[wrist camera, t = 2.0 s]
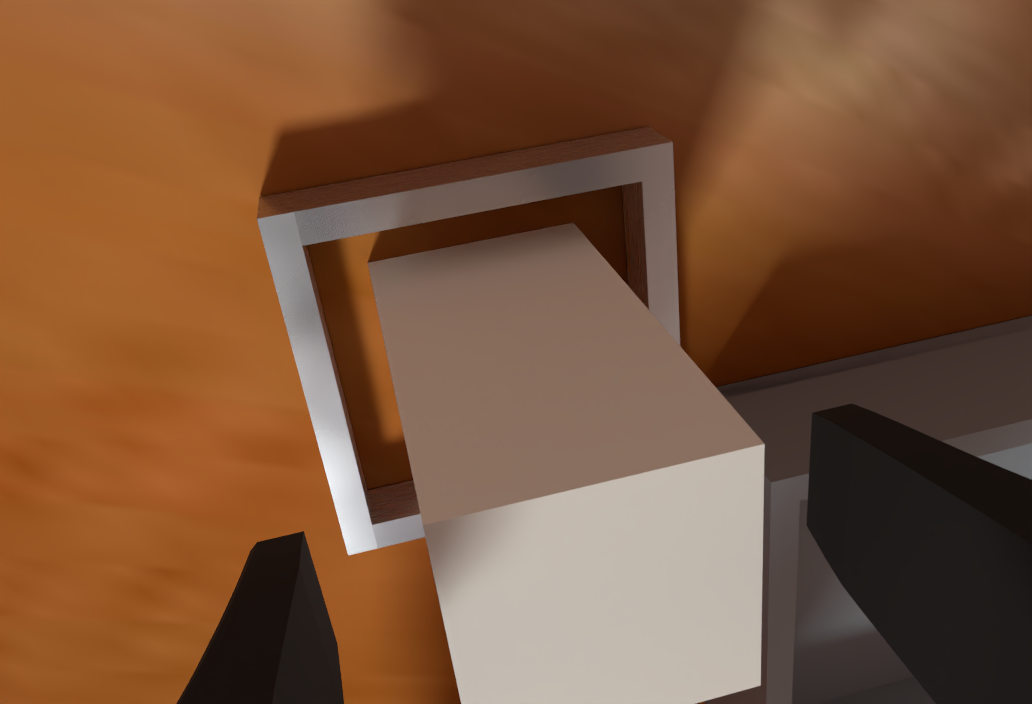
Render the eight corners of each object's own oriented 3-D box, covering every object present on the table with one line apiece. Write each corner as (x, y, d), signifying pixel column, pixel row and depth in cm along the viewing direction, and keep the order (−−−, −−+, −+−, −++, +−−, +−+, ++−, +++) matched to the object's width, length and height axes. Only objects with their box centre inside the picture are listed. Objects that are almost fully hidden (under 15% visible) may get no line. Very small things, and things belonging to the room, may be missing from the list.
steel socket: (664, 444, 20) (684, 474, 19) (344, 519, 19) (348, 555, 18) (648, 126, 17) (672, 141, 16) (259, 197, 16) (256, 219, 15)
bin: (1061, 633, 27) (1160, 728, 23) (705, 733, 25) (763, 850, 22) (1141, 290, 21) (1284, 356, 18) (696, 391, 20) (770, 482, 17)
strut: (589, 398, 19) (760, 684, 12) (405, 439, 19) (474, 764, 12) (573, 222, 17) (764, 444, 10) (367, 262, 17) (422, 525, 10)
